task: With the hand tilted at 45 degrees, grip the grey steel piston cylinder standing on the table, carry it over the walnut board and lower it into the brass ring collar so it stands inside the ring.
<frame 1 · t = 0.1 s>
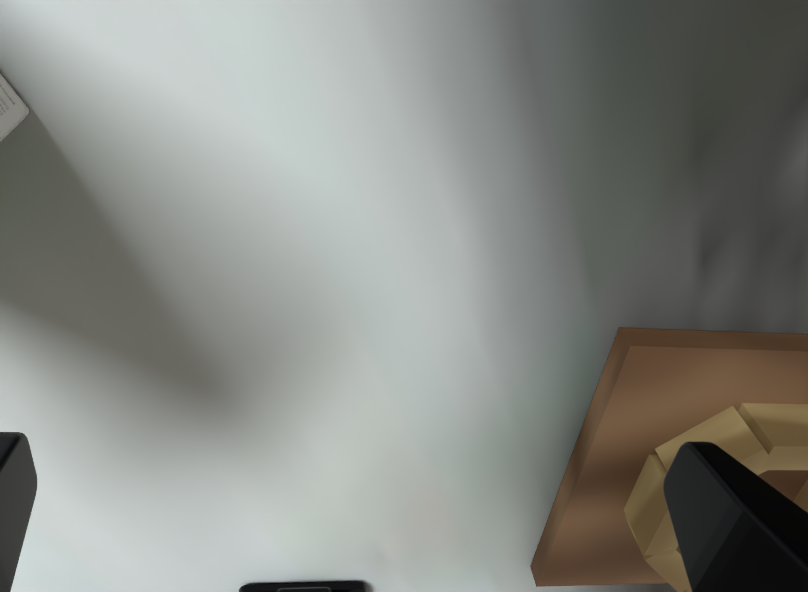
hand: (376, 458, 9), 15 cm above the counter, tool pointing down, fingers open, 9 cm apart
ring board: (723, 463, 34), on the counter
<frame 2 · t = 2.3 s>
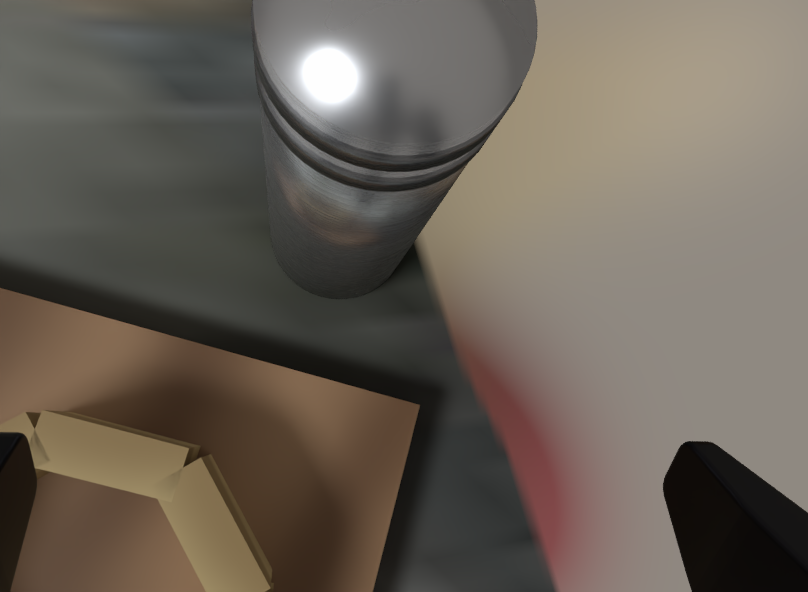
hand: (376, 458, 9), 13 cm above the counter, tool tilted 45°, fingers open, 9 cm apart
piston: (338, 233, 23), on the counter
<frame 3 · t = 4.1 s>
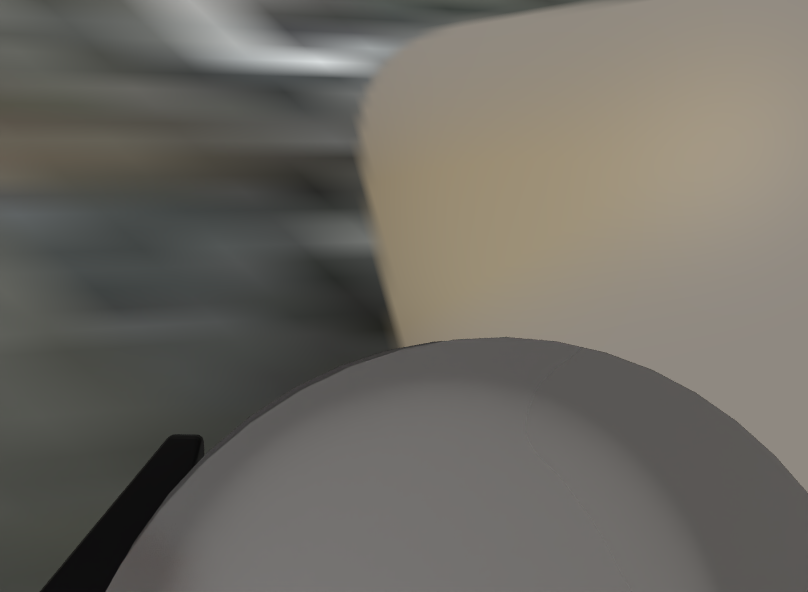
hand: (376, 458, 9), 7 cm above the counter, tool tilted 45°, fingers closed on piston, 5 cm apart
piston: (335, 505, 16), on the counter, touching gripper
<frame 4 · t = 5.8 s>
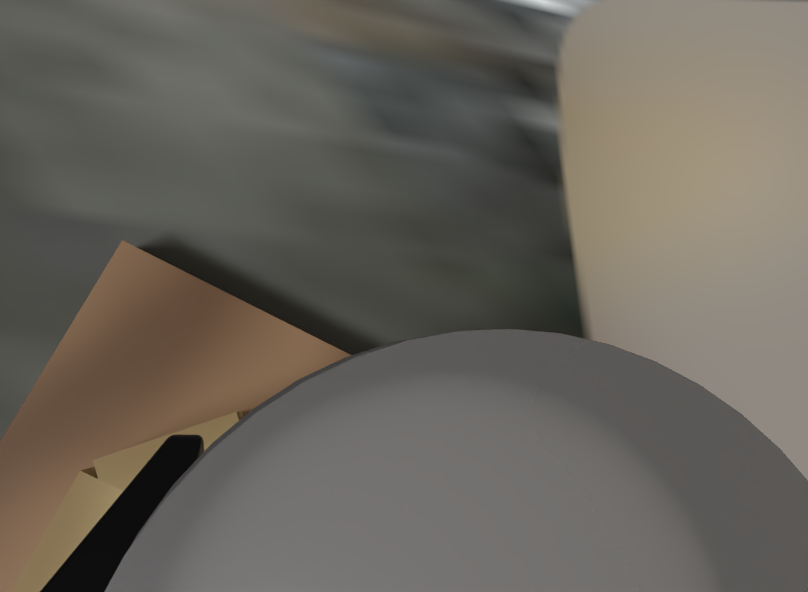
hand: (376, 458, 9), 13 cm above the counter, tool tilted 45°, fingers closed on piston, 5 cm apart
piston: (336, 503, 16), point 6 cm above the counter, touching gripper
ring board: (233, 588, 21), on the counter
when the fingers open (9 cm above the counter, at t = 7.5 s): piston drops 1 cm, resting on ring board.
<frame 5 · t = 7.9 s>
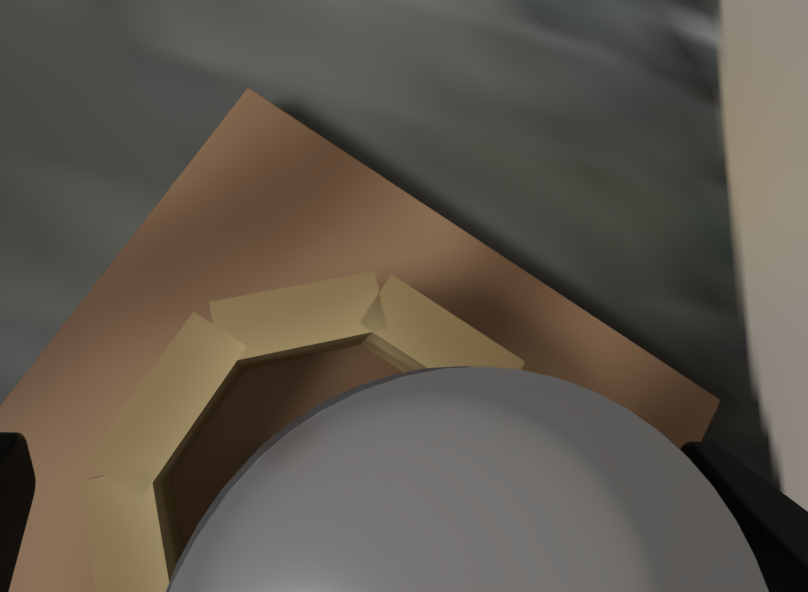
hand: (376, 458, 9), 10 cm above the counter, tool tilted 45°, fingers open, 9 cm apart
piston: (332, 505, 17), point 1 cm above the counter, touching ring board
ring board: (329, 495, 18), on the counter
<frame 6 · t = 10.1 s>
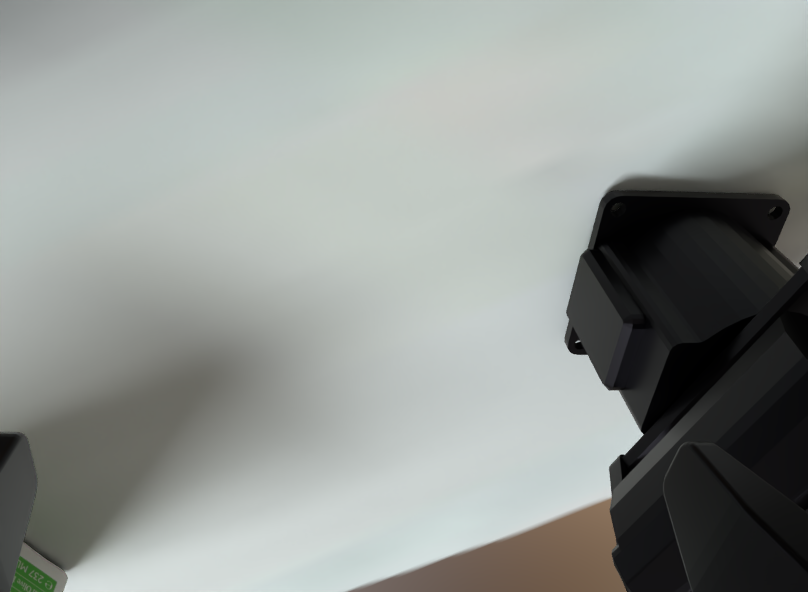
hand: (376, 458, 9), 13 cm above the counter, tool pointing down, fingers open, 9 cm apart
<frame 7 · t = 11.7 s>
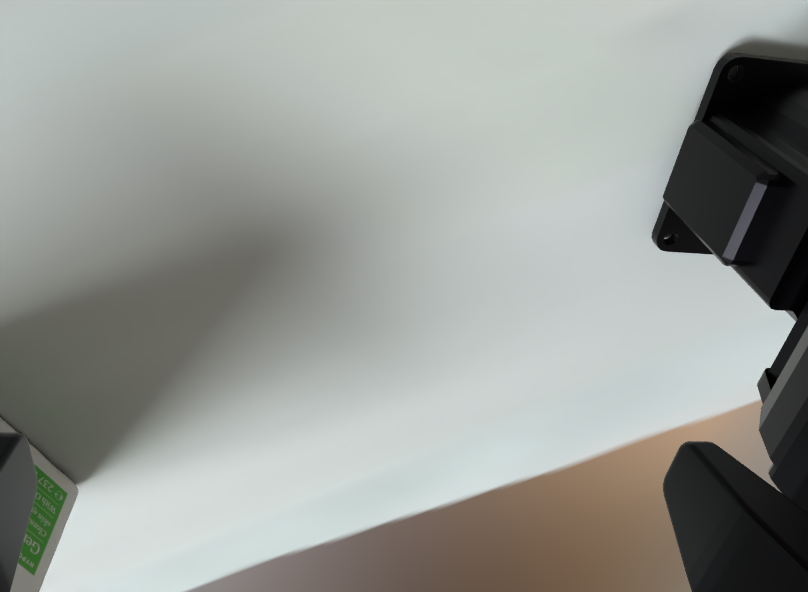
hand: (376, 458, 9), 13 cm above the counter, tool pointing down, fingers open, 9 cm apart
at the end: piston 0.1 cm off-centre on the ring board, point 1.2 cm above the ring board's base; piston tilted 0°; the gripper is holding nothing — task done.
